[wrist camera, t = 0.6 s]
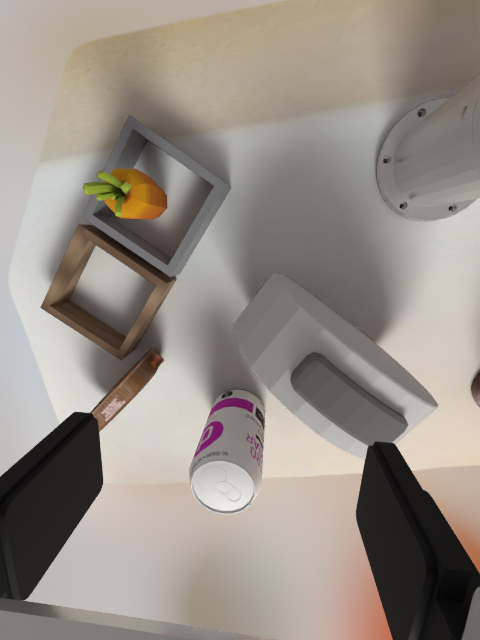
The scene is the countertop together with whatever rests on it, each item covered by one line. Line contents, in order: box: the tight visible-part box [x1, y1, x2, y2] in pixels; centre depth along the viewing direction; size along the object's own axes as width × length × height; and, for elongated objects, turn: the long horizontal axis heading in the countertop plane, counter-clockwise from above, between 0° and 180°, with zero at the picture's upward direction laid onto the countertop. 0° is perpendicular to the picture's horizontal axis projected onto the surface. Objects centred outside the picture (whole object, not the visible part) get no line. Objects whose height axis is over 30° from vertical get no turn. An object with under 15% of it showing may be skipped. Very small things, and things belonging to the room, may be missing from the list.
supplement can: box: [189, 389, 265, 514], centre depth 40 cm, size 8×8×15 cm
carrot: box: [83, 169, 167, 219], centre depth 33 cm, size 5×5×15 cm
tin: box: [90, 348, 164, 431], centre depth 43 cm, size 15×3×8 cm, turn 135°
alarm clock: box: [233, 272, 438, 460], centre depth 33 cm, size 21×8×20 cm, turn 54°
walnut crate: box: [41, 224, 176, 360], centre depth 42 cm, size 13×13×4 cm
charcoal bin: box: [82, 115, 231, 277], centre depth 38 cm, size 13×13×4 cm
